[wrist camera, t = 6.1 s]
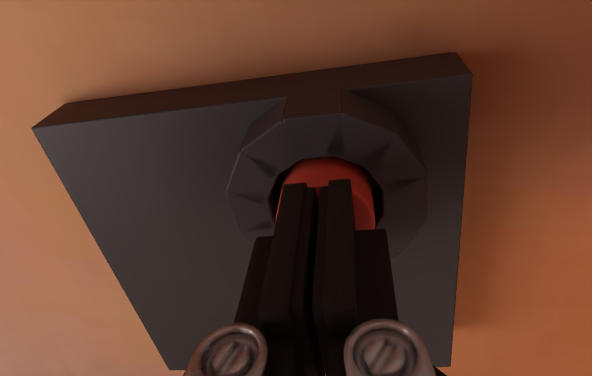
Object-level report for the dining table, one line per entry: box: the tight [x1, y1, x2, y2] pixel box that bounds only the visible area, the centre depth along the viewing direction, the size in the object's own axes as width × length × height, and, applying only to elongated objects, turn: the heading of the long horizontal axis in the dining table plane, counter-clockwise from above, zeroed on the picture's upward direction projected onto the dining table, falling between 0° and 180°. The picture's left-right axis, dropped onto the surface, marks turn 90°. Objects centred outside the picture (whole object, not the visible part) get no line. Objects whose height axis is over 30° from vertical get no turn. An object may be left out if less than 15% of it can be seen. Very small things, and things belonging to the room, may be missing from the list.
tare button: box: [276, 156, 375, 230], centre depth 11 cm, size 3×3×2 cm
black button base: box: [32, 52, 473, 370], centre depth 15 cm, size 13×13×4 cm
